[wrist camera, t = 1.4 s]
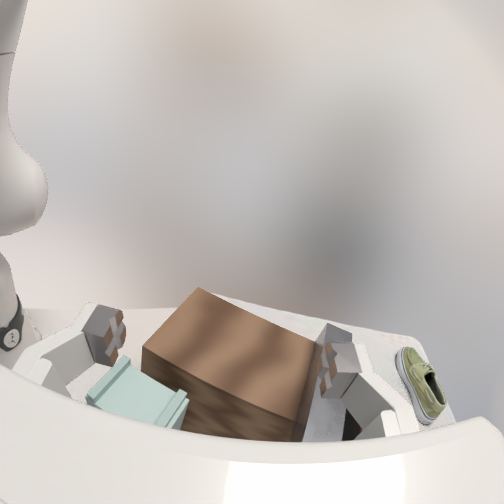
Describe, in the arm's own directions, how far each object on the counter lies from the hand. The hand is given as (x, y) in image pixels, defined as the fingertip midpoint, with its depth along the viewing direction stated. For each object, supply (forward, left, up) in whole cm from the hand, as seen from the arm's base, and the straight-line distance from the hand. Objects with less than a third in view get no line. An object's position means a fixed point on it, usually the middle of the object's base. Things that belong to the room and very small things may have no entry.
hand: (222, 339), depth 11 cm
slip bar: (+10, +11, -16) cm, 22 cm away
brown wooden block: (+2, +15, -42) cm, 45 cm away
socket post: (-6, +3, -42) cm, 42 cm away
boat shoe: (+51, +51, -42) cm, 84 cm away
